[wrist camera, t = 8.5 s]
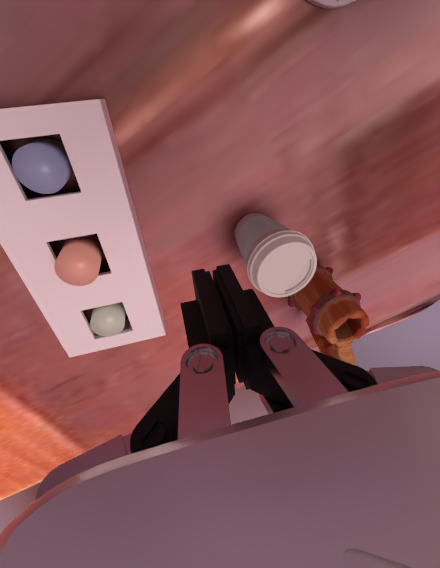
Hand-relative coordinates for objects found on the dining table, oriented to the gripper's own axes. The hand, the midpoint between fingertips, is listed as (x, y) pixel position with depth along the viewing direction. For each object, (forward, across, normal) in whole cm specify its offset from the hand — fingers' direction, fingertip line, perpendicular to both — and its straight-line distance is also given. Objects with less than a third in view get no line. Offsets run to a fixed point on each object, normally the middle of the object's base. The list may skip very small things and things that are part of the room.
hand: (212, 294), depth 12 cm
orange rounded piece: (+24, +12, +8) cm, 28 cm away
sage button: (+26, +12, +18) cm, 33 cm away
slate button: (+26, +12, -2) cm, 29 cm away
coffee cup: (+27, -11, +10) cm, 31 cm away
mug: (+27, -20, +23) cm, 41 cm away
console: (+26, +12, +8) cm, 30 cm away
